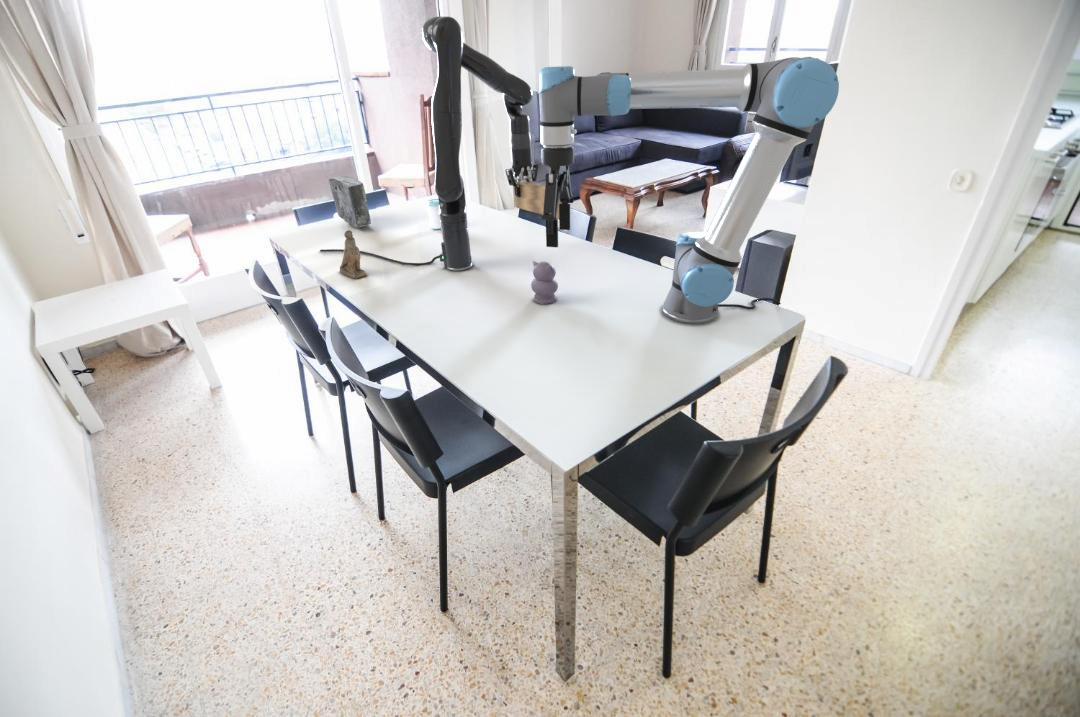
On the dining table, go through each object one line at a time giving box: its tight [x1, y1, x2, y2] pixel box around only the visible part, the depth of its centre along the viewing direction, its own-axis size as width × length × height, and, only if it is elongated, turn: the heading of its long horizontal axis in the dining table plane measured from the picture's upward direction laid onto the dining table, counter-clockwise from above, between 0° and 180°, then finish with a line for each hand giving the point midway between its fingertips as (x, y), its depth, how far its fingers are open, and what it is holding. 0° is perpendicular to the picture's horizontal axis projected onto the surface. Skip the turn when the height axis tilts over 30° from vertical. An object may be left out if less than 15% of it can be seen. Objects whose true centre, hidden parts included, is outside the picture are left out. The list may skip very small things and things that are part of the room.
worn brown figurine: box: [339, 229, 367, 280], centre depth 174 cm, size 12×6×18 cm, turn 43°
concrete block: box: [328, 175, 372, 229], centre depth 226 cm, size 27×9×20 cm, turn 36°
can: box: [426, 198, 442, 230], centre depth 220 cm, size 7×7×12 cm
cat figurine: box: [530, 260, 559, 305], centre depth 151 cm, size 9×8×12 cm
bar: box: [512, 179, 561, 220], centre depth 178 cm, size 25×5×9 cm, turn 41°
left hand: (523, 195), depth 185 cm, fingers closed on bar, 4 cm apart
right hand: (558, 237), depth 123 cm, fingers open, 13 cm apart
